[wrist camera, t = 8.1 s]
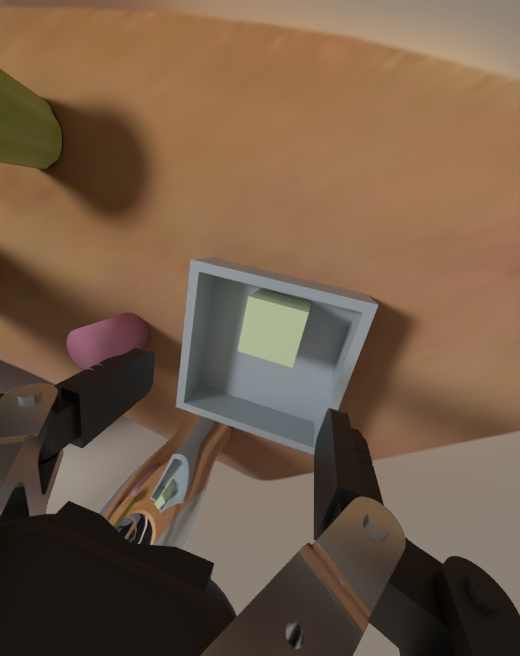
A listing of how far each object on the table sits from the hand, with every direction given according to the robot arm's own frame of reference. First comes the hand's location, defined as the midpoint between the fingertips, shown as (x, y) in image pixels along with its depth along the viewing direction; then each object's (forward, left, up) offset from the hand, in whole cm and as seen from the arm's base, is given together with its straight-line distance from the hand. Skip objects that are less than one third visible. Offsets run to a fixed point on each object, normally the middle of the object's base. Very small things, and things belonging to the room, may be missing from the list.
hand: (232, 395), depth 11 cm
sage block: (0, 0, -13) cm, 13 cm away
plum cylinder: (-16, -6, -14) cm, 22 cm away
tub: (0, -3, -14) cm, 14 cm away
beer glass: (-5, -16, -14) cm, 22 cm away
